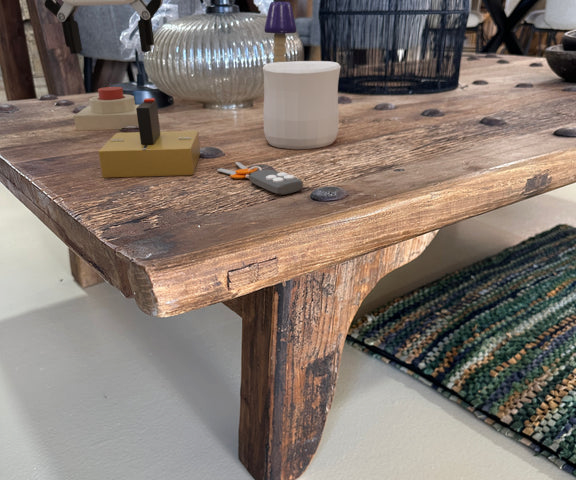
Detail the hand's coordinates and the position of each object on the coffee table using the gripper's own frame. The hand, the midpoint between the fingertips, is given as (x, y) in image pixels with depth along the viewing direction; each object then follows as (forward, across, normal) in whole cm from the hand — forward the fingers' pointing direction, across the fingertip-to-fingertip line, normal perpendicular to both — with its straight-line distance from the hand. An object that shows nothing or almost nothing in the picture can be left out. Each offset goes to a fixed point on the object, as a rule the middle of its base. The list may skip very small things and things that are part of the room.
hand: (111, 52), depth 79 cm
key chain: (+11, +20, -25) cm, 34 cm away
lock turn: (+8, +8, -19) cm, 22 cm away
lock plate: (+11, +8, -19) cm, 23 cm away
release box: (+11, -3, +6) cm, 13 cm away
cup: (+11, +26, -8) cm, 29 cm away
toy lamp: (+11, +23, +6) cm, 27 cm away
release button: (+7, -3, +6) cm, 10 cm away
